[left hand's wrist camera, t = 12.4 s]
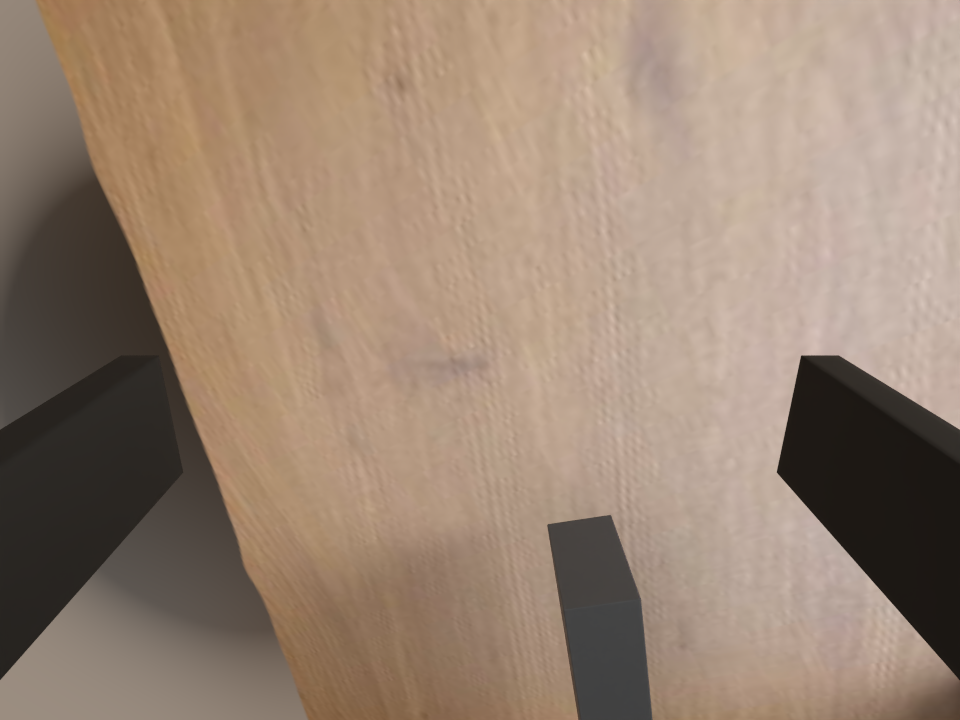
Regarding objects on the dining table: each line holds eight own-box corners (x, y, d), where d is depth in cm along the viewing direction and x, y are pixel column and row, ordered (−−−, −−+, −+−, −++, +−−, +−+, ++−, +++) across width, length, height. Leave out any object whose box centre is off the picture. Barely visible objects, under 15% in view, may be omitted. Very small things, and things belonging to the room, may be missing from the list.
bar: (547, 523, 42) (563, 610, 34) (610, 514, 42) (641, 599, 34) (585, 765, 51) (605, 875, 44) (638, 759, 51) (666, 868, 43)
